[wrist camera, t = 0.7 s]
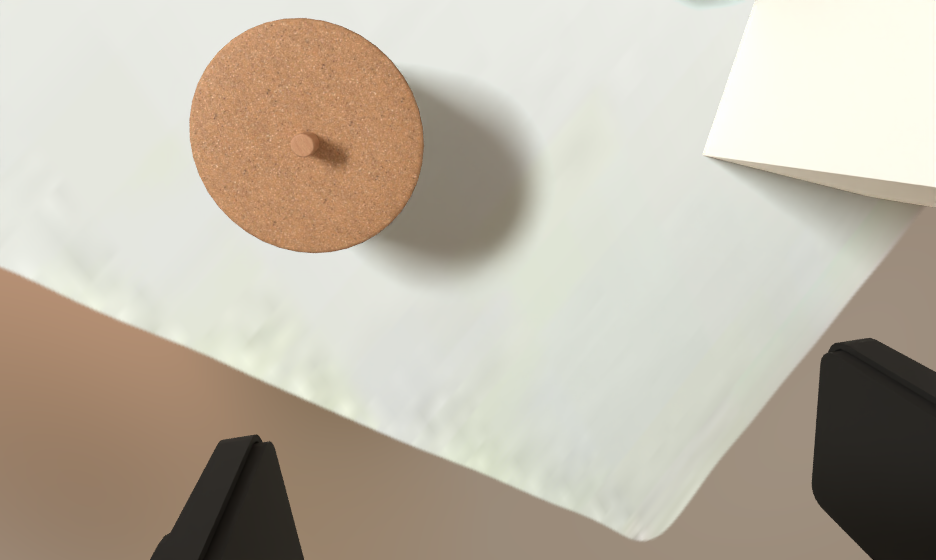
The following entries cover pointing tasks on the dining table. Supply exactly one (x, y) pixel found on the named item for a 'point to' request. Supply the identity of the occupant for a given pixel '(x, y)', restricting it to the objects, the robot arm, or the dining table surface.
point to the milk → (836, 96)
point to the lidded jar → (306, 135)
